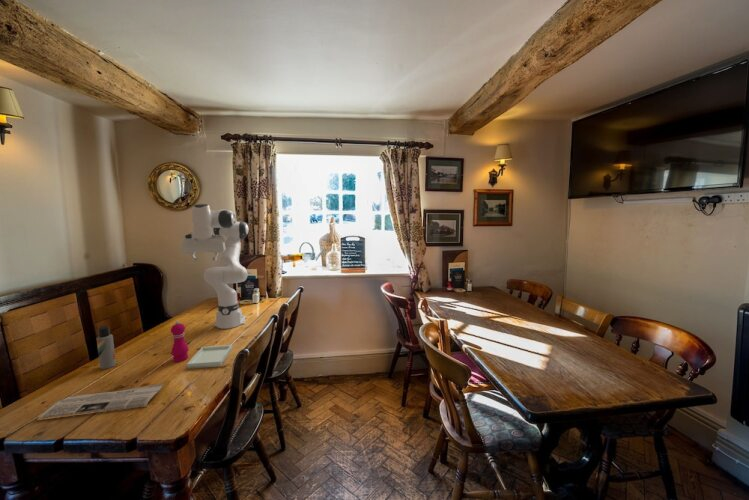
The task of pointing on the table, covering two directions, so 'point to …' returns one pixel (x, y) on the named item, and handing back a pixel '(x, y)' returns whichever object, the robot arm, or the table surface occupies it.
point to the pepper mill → (179, 343)
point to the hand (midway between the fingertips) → (205, 260)
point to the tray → (210, 357)
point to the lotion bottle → (105, 348)
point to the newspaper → (103, 401)
